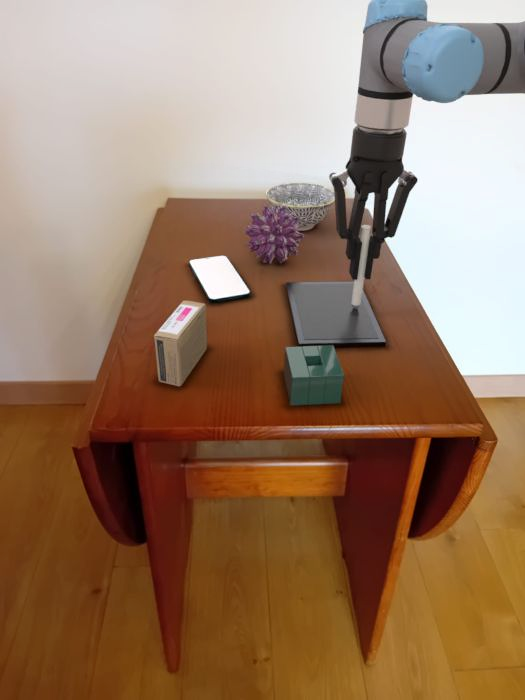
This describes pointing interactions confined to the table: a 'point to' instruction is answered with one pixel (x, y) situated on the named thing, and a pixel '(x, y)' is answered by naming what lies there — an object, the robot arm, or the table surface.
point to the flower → (274, 234)
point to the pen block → (313, 375)
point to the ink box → (181, 342)
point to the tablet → (332, 316)
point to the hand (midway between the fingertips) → (359, 275)
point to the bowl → (302, 201)
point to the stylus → (361, 266)
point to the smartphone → (219, 279)
